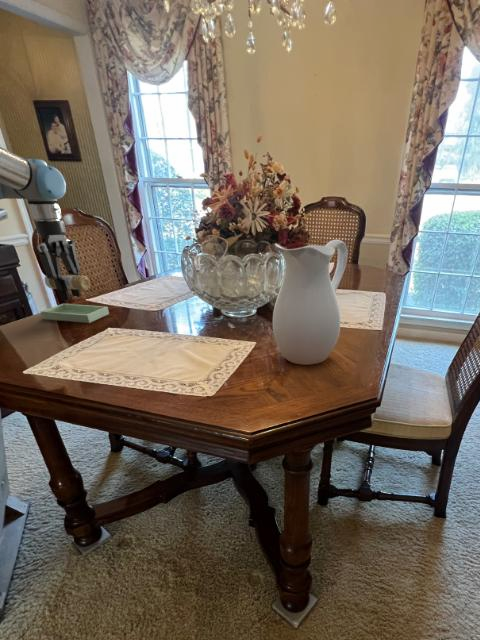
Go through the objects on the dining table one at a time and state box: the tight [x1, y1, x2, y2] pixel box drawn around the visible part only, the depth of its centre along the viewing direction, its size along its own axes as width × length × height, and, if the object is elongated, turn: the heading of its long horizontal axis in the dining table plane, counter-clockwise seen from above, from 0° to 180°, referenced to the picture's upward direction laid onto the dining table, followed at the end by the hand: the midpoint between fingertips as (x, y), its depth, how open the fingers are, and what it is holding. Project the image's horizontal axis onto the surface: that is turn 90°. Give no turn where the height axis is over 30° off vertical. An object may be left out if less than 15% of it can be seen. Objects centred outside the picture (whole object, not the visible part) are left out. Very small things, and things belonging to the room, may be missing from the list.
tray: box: [40, 303, 110, 324], centre depth 127 cm, size 18×10×2 cm, turn 78°
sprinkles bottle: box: [44, 274, 91, 291], centre depth 122 cm, size 5×5×13 cm
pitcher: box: [272, 239, 349, 366], centre depth 94 cm, size 24×17×28 cm
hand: (71, 297), depth 125 cm, fingers closed on sprinkles bottle, 4 cm apart
